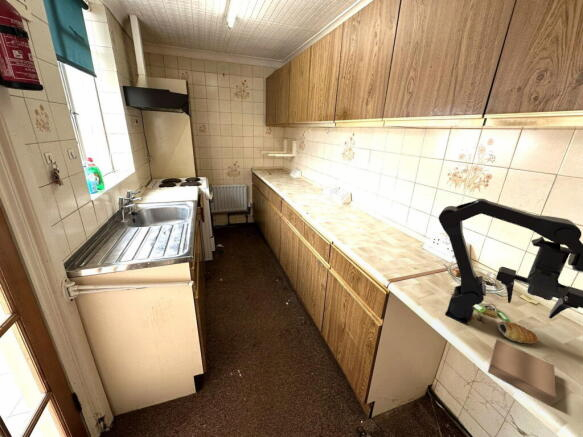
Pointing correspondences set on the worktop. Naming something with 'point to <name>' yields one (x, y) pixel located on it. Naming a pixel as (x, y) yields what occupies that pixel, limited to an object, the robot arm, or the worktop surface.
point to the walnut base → (523, 371)
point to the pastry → (517, 332)
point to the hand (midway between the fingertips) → (528, 309)
